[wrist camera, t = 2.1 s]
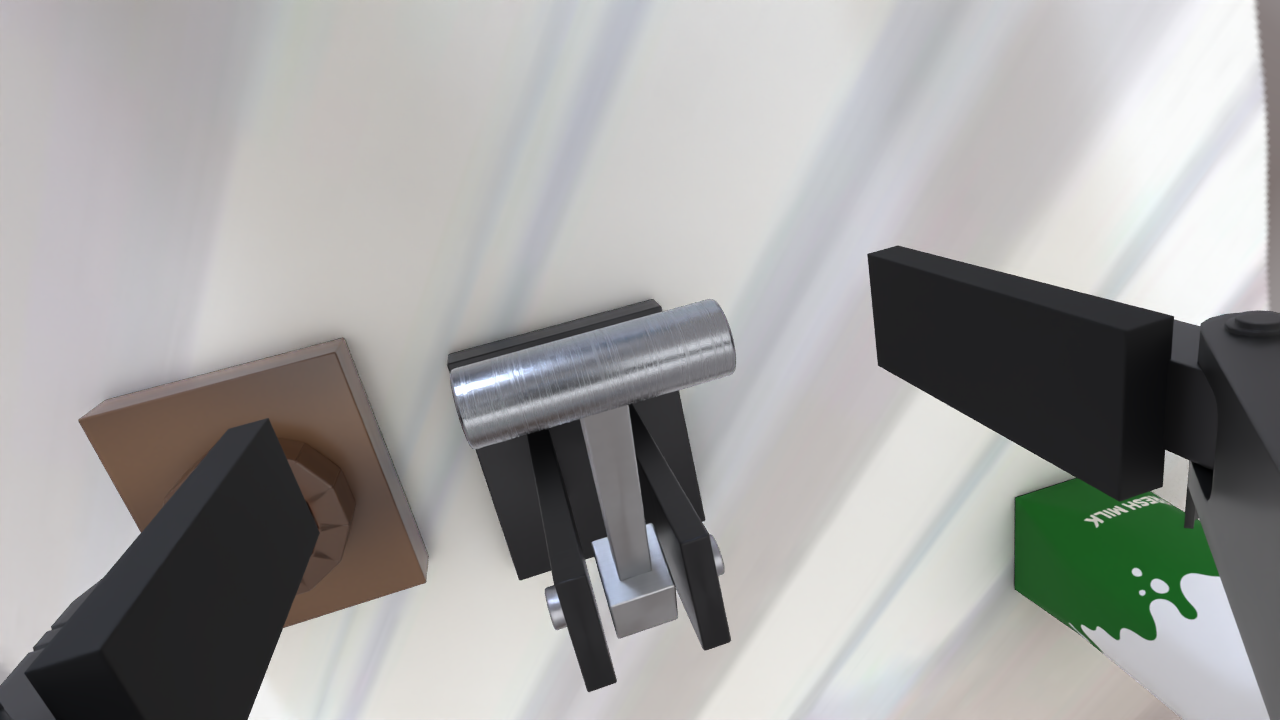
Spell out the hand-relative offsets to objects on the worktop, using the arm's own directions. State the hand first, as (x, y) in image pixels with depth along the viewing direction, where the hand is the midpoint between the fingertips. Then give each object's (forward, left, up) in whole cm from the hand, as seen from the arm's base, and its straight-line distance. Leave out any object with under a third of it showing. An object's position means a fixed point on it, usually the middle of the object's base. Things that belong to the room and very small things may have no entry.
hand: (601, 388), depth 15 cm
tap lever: (+4, 0, -4) cm, 6 cm away
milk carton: (+26, +28, -18) cm, 42 cm away
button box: (+8, -14, -18) cm, 24 cm away
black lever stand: (+10, 0, -18) cm, 20 cm away
